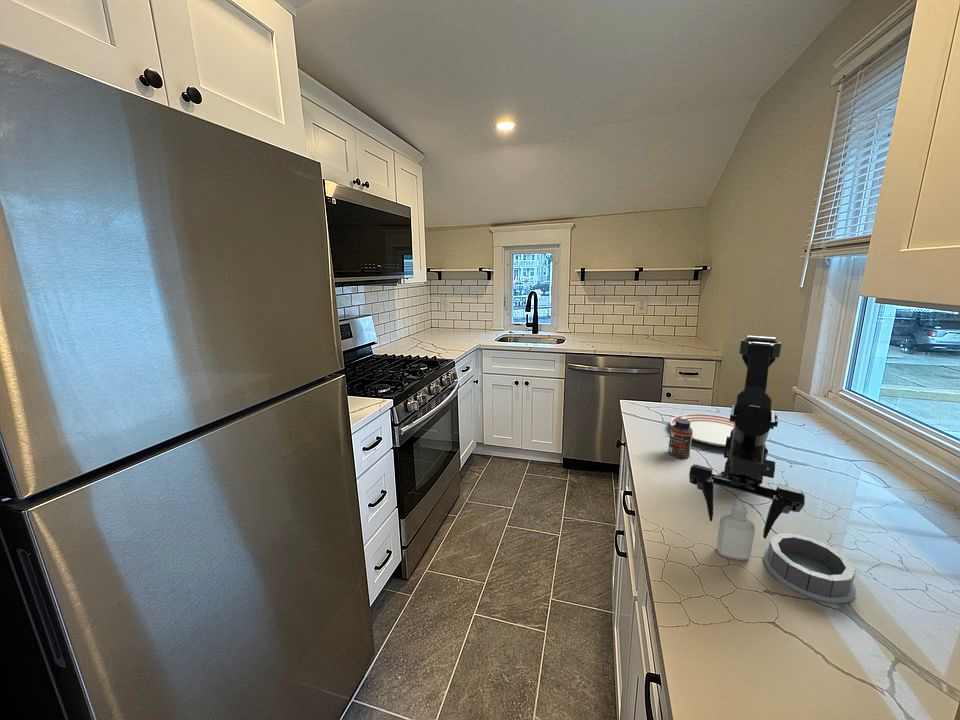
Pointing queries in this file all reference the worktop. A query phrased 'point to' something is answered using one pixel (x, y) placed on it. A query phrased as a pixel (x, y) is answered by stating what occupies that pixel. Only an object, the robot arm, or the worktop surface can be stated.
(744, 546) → the eye dropper bottle
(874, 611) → the worktop surface
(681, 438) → the supplement bottle
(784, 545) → the grey segmented round bowl
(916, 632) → the worktop surface
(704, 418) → the dinner plate
